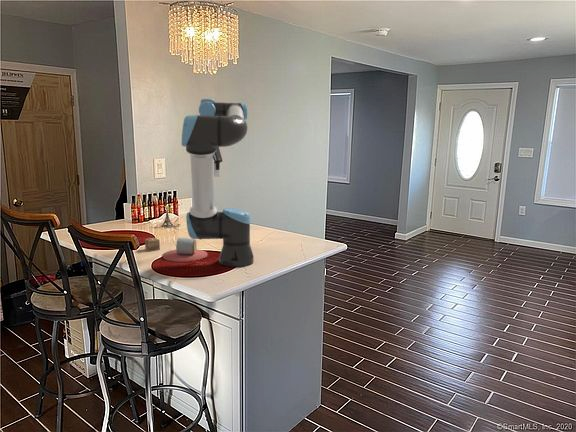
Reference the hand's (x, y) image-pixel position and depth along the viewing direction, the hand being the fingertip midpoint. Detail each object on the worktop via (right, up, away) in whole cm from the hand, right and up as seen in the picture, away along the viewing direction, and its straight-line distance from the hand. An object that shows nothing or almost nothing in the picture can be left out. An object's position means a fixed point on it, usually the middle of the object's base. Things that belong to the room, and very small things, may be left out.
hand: (209, 175), depth 217 cm
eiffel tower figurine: (-33, -27, +44) cm, 62 cm away
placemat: (-8, -38, -17) cm, 43 cm away
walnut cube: (-26, -36, -8) cm, 45 cm away
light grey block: (-8, -38, -15) cm, 41 cm away
